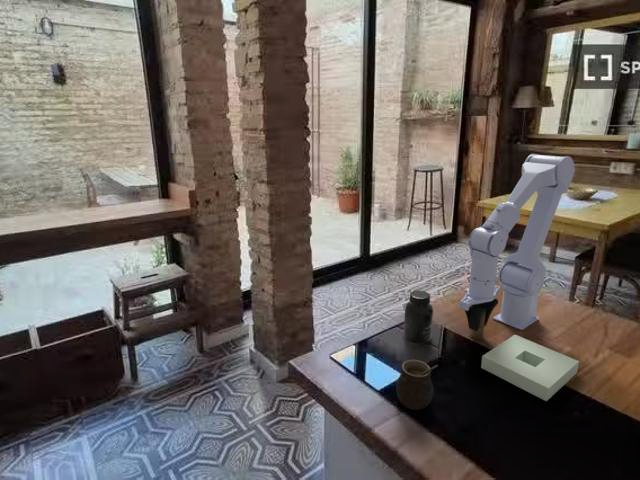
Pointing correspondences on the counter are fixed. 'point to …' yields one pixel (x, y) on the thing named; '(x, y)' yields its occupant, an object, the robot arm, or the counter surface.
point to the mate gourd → (415, 384)
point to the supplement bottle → (418, 318)
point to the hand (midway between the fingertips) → (477, 326)
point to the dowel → (479, 333)
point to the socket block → (530, 366)
